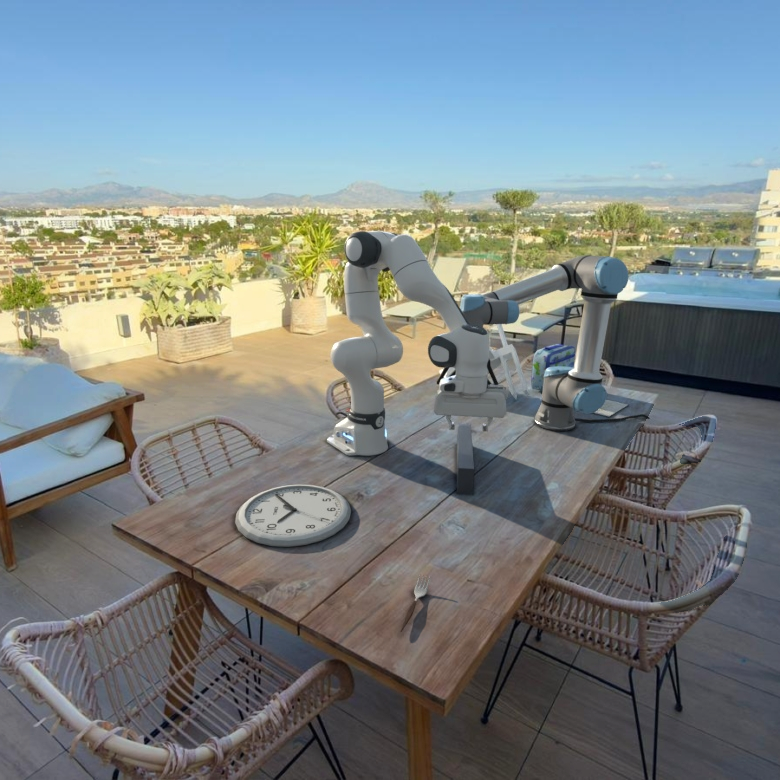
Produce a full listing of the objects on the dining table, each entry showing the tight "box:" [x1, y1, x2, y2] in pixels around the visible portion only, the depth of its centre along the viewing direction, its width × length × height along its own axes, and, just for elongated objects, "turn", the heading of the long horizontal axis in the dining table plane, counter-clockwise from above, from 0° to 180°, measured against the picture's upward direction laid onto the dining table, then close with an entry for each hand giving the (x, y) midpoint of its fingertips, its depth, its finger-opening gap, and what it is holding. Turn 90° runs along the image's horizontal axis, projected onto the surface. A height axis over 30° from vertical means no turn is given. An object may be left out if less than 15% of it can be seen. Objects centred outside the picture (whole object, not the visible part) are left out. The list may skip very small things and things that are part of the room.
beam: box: [456, 422, 475, 495], centre depth 166 cm, size 36×4×8 cm, turn 173°
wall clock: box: [234, 484, 352, 548], centre depth 138 cm, size 30×2×30 cm
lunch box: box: [530, 343, 576, 392], centre depth 248 cm, size 26×11×21 cm, turn 134°
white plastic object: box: [438, 324, 531, 400], centre depth 245 cm, size 37×45×31 cm
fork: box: [400, 573, 431, 633], centre depth 105 cm, size 3×16×2 cm, turn 160°
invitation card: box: [593, 399, 629, 418], centre depth 226 cm, size 21×1×15 cm
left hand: (468, 430), depth 150 cm, fingers open, 8 cm apart
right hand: (465, 405), depth 175 cm, fingers open, 13 cm apart
